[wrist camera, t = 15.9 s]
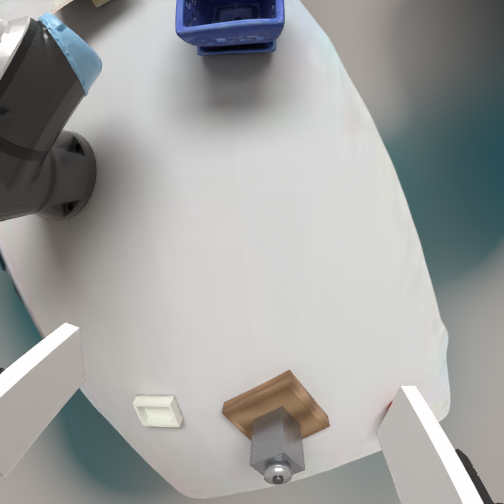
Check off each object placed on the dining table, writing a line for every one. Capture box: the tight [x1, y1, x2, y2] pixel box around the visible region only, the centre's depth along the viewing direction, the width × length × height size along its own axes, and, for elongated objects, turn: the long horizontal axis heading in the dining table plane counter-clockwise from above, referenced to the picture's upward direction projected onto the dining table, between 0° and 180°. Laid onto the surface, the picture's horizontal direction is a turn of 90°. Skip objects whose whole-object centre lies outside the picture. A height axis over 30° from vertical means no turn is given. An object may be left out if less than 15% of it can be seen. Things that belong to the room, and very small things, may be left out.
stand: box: [222, 370, 330, 441], centre depth 50 cm, size 14×14×3 cm
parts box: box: [132, 395, 183, 427], centre depth 51 cm, size 8×6×3 cm
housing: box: [250, 406, 305, 484], centre depth 41 cm, size 6×6×14 cm
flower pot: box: [176, 0, 285, 56], centre depth 32 cm, size 13×13×12 cm
